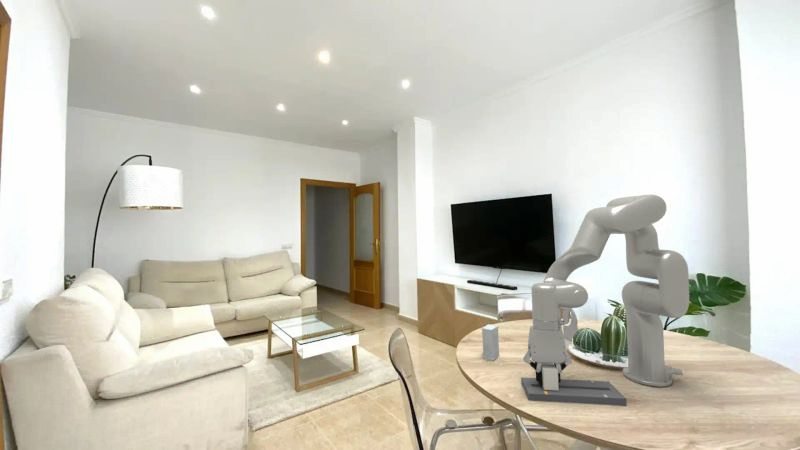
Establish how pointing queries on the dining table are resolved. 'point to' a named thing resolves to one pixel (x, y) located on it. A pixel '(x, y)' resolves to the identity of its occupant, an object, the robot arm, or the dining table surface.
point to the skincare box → (490, 342)
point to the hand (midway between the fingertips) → (548, 383)
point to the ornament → (572, 327)
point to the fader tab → (549, 376)
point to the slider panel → (575, 392)
